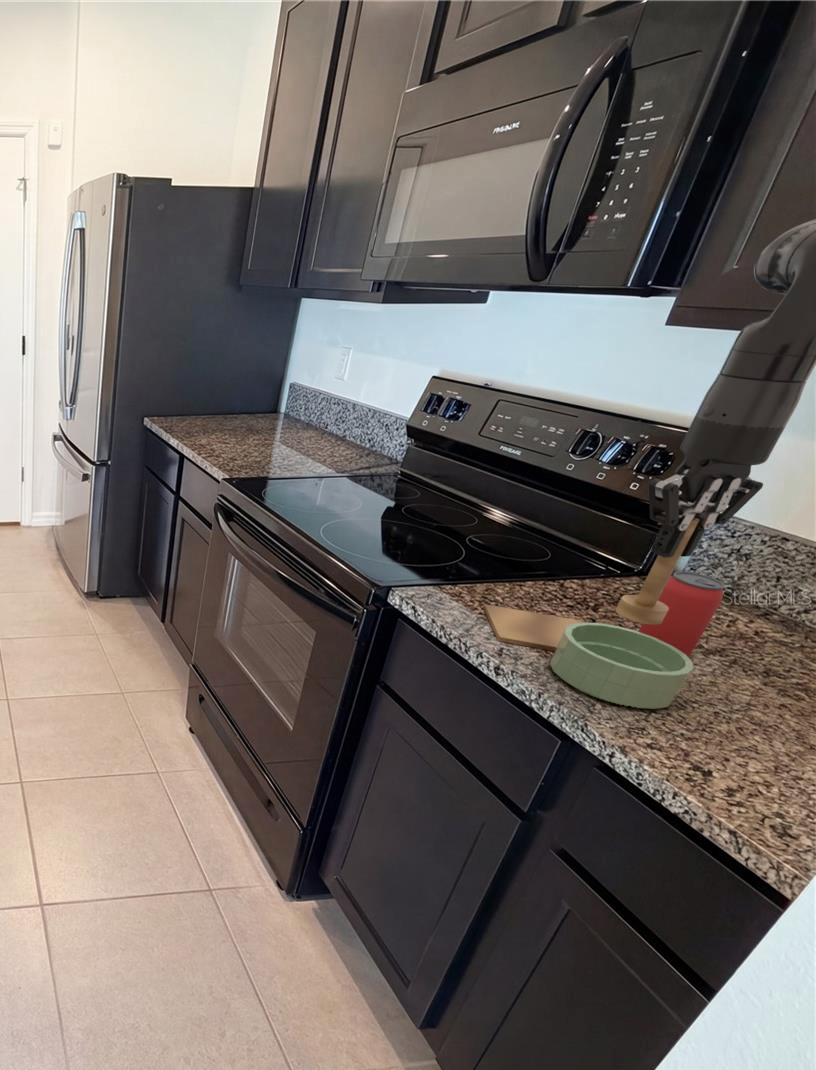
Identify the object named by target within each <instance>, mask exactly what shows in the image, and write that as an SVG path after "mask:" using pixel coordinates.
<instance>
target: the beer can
mask: <svg viewBox="0 0 816 1070" xmlns="http://www.w3.org/2000/svg"><path fill="white" fill-rule="evenodd" d="M725 586H726V585H725V584H724V582H722V581H720V580H719V579H717V578H714V577H712V576H708V575H705V574H702V573H697V572H691V571H676V572H673V573H672V575H671V576H670V578H669V580H668V581H667V583H666V585H665V587H664V589H663V591H662V593H661V595H660V597H659V599H658V601H660V602H662V603H664V604H665V605H667V606H668V607H669V610H668V612H667V614H666V616H665V618H664V619H663V621H662V623H661V624H656V625H651V624H644V623H641V625H640V627H639V629H638V632H641V633H643V634H646V635H649V636H652V637H655V638H657V639H659V640H661V641H663V642H665V643H667V644H670V645H672V646H673V647H675V648H677V649H678V650H680V651H681V652H683V653H684V654H686V656H687V657H689V656H691V655H692V653H693V652H694V649H696V646H697V645H698V644H699V641H700V639H701V638H702V636H703V634H704V633H705V631H706V629H707V627H708V626H709V624H710V622H711V620H712V619H713V617H714V616H715V614H716V612H717V610H718V609H719V607H720V605H721V604H722V601H723V597H724V589H725Z"/></svg>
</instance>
